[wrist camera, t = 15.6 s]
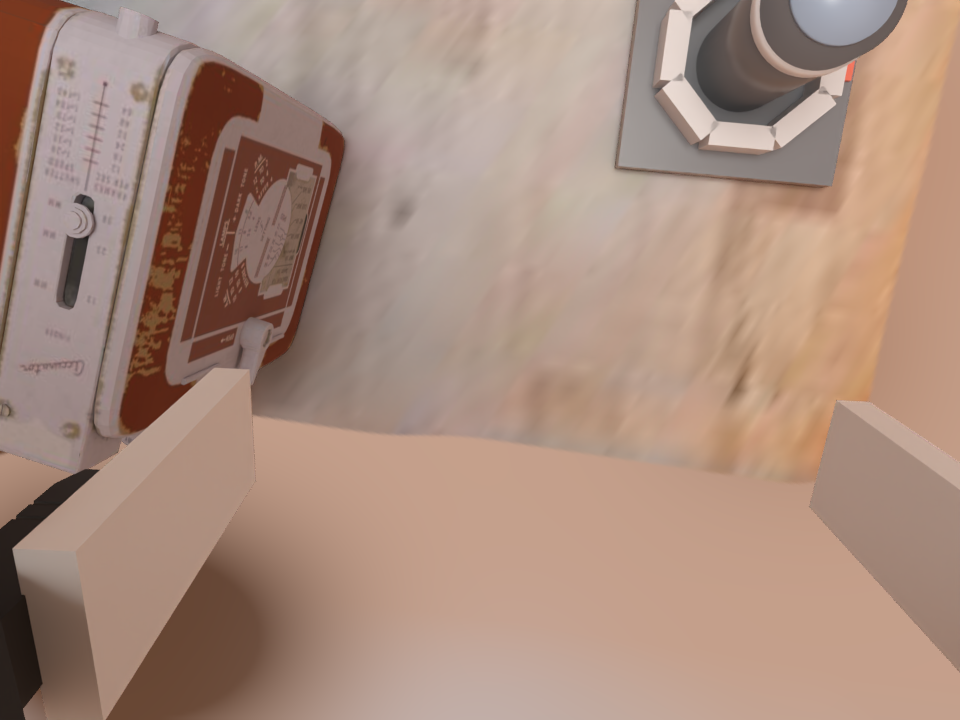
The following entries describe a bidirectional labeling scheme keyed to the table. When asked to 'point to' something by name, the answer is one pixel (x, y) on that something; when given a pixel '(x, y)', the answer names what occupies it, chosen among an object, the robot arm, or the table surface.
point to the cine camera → (141, 224)
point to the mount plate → (720, 109)
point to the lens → (787, 46)
